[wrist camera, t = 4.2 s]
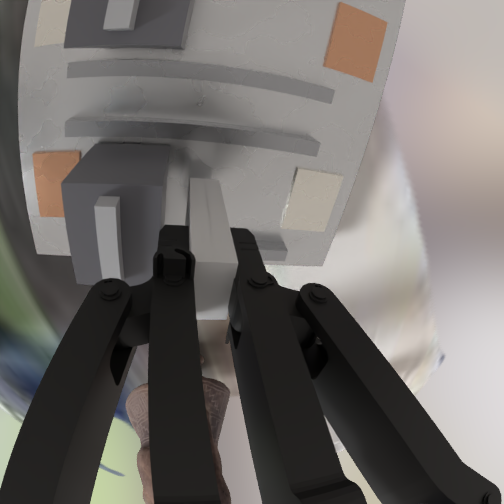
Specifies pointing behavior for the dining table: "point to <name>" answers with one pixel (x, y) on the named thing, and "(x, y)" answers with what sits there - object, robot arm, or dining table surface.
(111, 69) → the switch unit
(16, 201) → the dining table surface
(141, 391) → the clay figurine
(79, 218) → the block
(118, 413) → the dining table surface
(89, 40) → the slider near
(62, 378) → the robot arm
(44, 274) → the dining table surface
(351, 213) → the dining table surface
